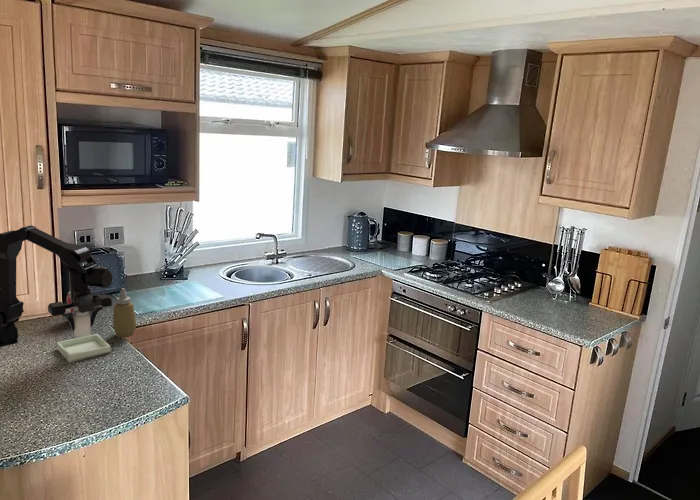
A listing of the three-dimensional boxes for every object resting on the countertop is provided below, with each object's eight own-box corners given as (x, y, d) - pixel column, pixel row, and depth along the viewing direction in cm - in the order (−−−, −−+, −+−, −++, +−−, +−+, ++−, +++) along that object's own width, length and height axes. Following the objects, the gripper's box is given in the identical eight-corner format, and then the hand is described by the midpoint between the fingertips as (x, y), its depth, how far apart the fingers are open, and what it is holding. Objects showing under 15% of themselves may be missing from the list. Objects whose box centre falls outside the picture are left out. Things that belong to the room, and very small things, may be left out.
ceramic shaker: (76, 338, 180) (75, 312, 178) (72, 333, 184) (70, 308, 181) (93, 334, 183) (91, 309, 181) (88, 329, 187) (86, 305, 185)
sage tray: (68, 362, 176) (68, 355, 175) (57, 349, 185) (57, 342, 185) (110, 353, 185) (110, 346, 184) (97, 340, 194) (97, 333, 193)
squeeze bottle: (140, 331, 204) (138, 285, 200) (132, 339, 196) (130, 292, 192) (118, 330, 203) (115, 284, 199) (109, 338, 196) (107, 291, 191)
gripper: (55, 296, 167) (58, 342, 171) (117, 286, 180) (119, 330, 183) (45, 286, 175) (49, 331, 179) (105, 278, 188) (107, 320, 191)
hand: (82, 328), depth 183 cm, fingers closed on ceramic shaker, 5 cm apart
